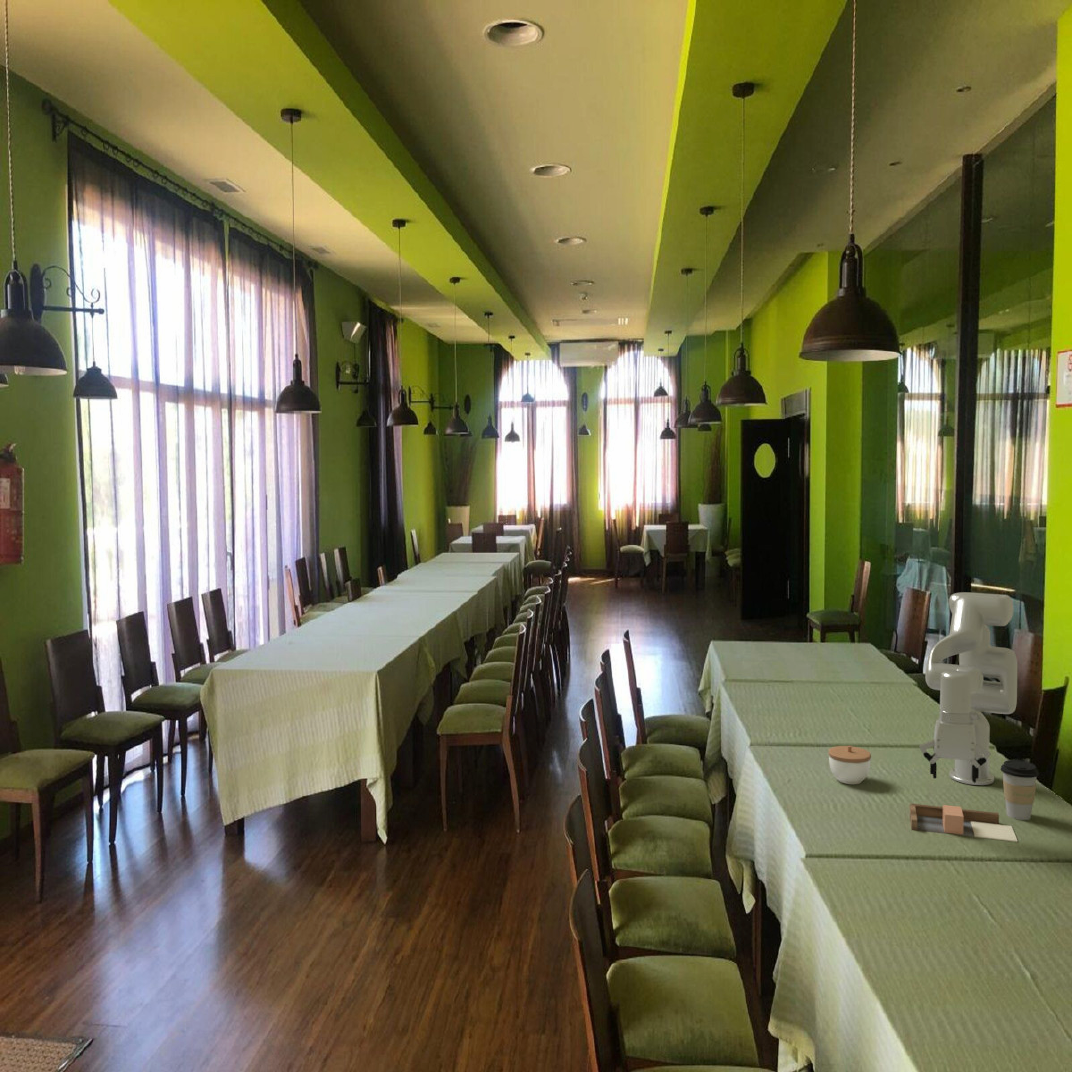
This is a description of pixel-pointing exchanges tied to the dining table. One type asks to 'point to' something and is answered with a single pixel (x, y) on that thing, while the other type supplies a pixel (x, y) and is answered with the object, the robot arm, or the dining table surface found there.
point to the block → (953, 819)
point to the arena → (933, 819)
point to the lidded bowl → (849, 763)
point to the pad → (993, 831)
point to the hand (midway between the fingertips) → (953, 778)
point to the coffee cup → (1019, 788)
